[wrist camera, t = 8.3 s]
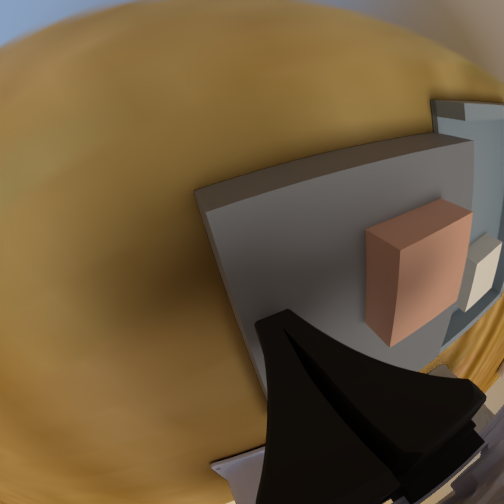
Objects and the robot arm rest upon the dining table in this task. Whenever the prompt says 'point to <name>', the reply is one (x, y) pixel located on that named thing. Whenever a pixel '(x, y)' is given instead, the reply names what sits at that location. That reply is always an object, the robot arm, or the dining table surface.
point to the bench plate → (329, 237)
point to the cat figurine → (501, 370)
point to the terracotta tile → (414, 267)
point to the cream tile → (478, 270)
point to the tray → (478, 189)
